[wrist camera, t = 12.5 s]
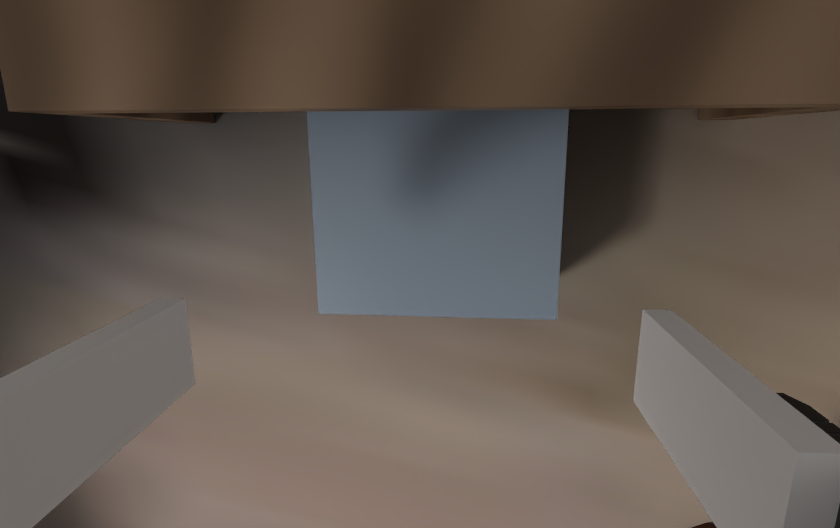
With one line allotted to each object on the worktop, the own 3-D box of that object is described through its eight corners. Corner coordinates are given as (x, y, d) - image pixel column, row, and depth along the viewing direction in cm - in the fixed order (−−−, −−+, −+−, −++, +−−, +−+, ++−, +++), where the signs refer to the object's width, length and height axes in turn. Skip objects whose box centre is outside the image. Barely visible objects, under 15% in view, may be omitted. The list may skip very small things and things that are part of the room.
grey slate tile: (347, 282, 26) (318, 313, 22) (329, -111, 22) (288, -182, 17) (541, 285, 25) (556, 319, 21) (561, -126, 21) (587, -206, 16)
